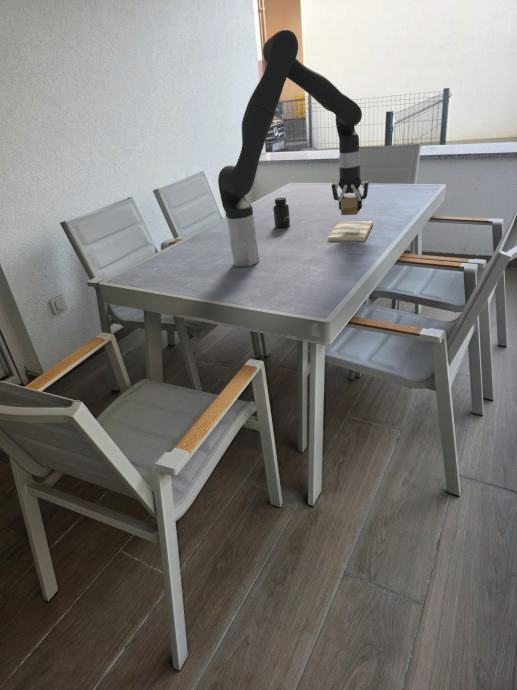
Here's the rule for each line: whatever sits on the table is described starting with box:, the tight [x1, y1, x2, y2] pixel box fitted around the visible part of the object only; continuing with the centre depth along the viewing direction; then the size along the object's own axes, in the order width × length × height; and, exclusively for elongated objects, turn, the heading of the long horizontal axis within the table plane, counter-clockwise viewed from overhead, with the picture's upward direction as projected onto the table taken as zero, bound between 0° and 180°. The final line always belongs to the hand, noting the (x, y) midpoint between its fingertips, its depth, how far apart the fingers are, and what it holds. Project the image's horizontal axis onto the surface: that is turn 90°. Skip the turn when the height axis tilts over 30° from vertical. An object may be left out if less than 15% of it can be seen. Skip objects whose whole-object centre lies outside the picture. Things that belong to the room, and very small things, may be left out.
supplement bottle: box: [272, 197, 291, 229], centre depth 193 cm, size 7×7×12 cm
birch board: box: [327, 220, 374, 242], centre depth 176 cm, size 20×14×2 cm
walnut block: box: [340, 194, 360, 216], centre depth 171 cm, size 6×6×6 cm
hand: (350, 210), depth 172 cm, fingers closed on walnut block, 6 cm apart
